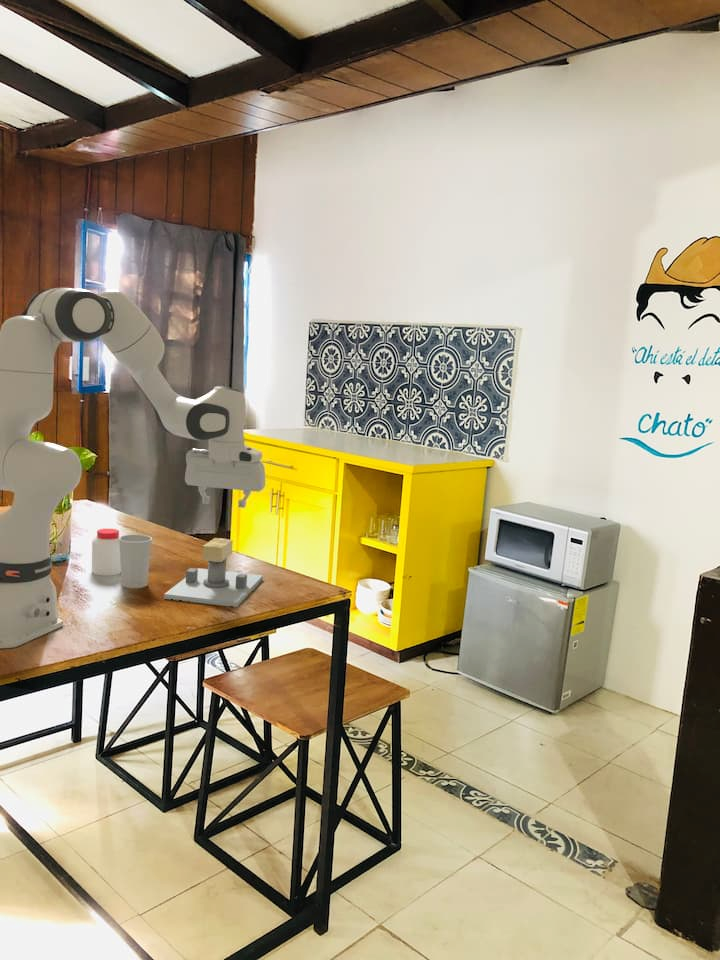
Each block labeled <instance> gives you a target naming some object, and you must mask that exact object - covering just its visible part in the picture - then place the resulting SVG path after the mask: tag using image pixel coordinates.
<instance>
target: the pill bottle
mask: <svg viewBox="0 0 720 960" xmlns="http://www.w3.org/2000/svg"><path fill="white" fill-rule="evenodd" d="M119 537H120V530H119V529H117V528H100V529H98V530H97V531H96V536H95V537H94V538H93V539H92V540H91V541H92V543H91V544H92V545H91V548H92V549H91V573H92V574H94V575H97V576H101V577H103V576H104V577H105V576H107V577H108V576H116V575H121V562H120V545H119Z"/></svg>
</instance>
